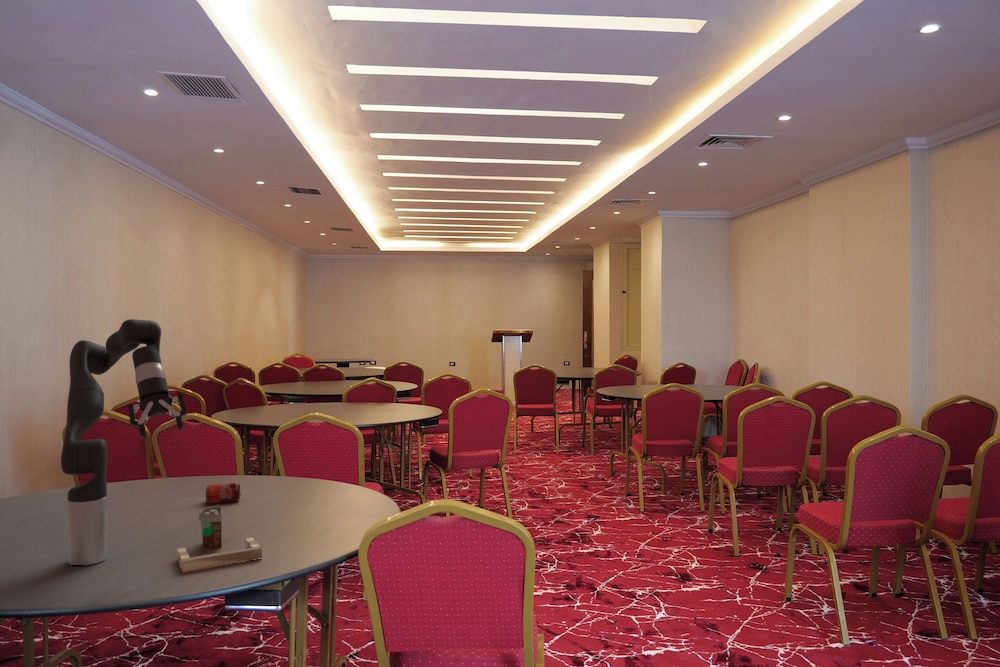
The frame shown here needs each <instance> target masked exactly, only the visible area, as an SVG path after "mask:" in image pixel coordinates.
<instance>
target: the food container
mask: <svg viewBox="0 0 1000 667" xmlns="http://www.w3.org/2000/svg"><path fill="white" fill-rule="evenodd" d="M221 506H222V505H218V504H217V505H211V506H208V507H204V508H202V509H201V510H200V512H199V514H198V521H200V522H201V523H200V524H201V537H202V546H203V547H204V546H205V547H204V548H207V547H222V537H223V536H222V533H223V532H222V523H223V522H222V521H223V520H222V519H223V518H222V513H221V512H222V509H221V508H222V507H221ZM222 548H223V547H222Z"/></svg>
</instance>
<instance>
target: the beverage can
mask: <svg viewBox="0 0 1000 667" xmlns="http://www.w3.org/2000/svg"><path fill="white" fill-rule="evenodd" d="M205 488H206V489H205V502H206V504H219V503H232V502H233V501H234V502H236V501H238V500H241V498H240V496H241V495H242V494H241V491H240V490H241V484H240V483H236V482H232V483H221V484H206V485H205Z"/></svg>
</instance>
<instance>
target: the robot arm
mask: <svg viewBox="0 0 1000 667" xmlns="http://www.w3.org/2000/svg"><path fill="white" fill-rule="evenodd" d="M161 337H162V327H161V326H160V324H159V323H158V322H156V321H155V320H147V319H135V318H134V319H133V318H130V319H126V320H124V321H123V322H122V323H121V325H120V327H119V329H118V330H116V331H115V332H113V333H112V334H111V335H109V337H108V338H107V339H106V341H105V346H103V345H102V344H98V343H95V342H93V341H89V340H87V339H83V340H82V339H80V340H79V341H77V342H76V343H75V344H74V345H73V347H72V349H71V351H70V355H69V390H68V397H67V406H66V427H65V432H64V437H63V438H64V439H63V443H62V449H61V455H60V466H61V467H60V468H61V470H62V472H63V473H64V474H65V475H71V476H73V475H74V476H75V475H86V474H87V475H88V474H93V476H92V477H91V478H90V479H89V480H87V481H85V482H83V483H81V484H78V485H76V486H74V487H73V486H72V488H70V489H69V490H68V492H67V564H68V565H69V564H70V565H69V566H72V565H84V566H90V564H91V565H95V564H98V563H102V562H104V561H106V560H107V558H108V501H107V500H108V496H107V494H108V493H107V492H108V491H107V474H108V473H107V472H108V470H107V469H108V455H109V454H108V453H109V451H108V450H109V449H108V444H107V441H106V440H105V439H102V438H95V439H93V438H92V439H81V438H82V437H83V436H84V434H86V433H87V432H88V431H89V430H90V429H91V428H92V427H93V426H94V425H95V424H97V422H98V421H99V419H100V418H101V417H102V415H103V413H104V409H105V394H104V391H103V389H102V386H101V385H100V384H99V383H98V381H97V380H96V379H95V377H94V375H96V376H99V375H103V374H105V373H106V372H108V371H110V369H111V368H112V367H113V366H114V365H115V364H117V362H118V361H120V359H121V358H123V357H124V356H125V355H126V354H129V353H131V352H132V353H131V354H132V362H133V367H134V372H135V373H134V374H135V383H136V387H137V392H138V398H139V404H132V403H130V404H128V405H127V406H128V417H129V423H130V427H131V428H135V427H136V428H139V434H140V437H141V438H142V439H143V440H147V439H148V436H147V431H146V428H145V426H146V425H145V424H146V423H147V421H149V419H150V417H152V418H155V417H158V416H163V415H166V414H168V415H169V416H171V417H173V418H175V423H176V427H177V431H178V433H180V432H182V429H184V427H183V426H184V425H183V420H182V418H183V417H185V416H188V412H187V411H188V410H187V407H186V404H185V399H184V397H183V394H182V393H178V394H177V395H176V396H173V397H172V396H171V394H170V391H169V385H168V382H167V376H166V373H165V370H164V367H163V363H162V360H161V354H160V349H161V339H162V338H161ZM140 345H146V346H141V347H139V346H140ZM173 402H174V403H175V404H177V405H178V404H179V408H180V411H178V410H176V409H175V408H174V407H173V406H172V404H173ZM139 409H140V410H141V411H142V414H141V416H140V418H139V419H138V420H136V413H138V410H139Z"/></svg>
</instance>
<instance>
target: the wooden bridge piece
mask: <svg viewBox="0 0 1000 667" xmlns="http://www.w3.org/2000/svg"><path fill="white" fill-rule="evenodd" d="M244 541H245V542H244V546H245V548H246V549H245V548H241V549H237V550H230V551H224V552H218V553H212V554H211V553H210V554H205V555H200V556H199V555H197V556H193V557H192V556H191V557H190V555H189V553H188V551H187V549H186V547H181V548H177V549H176V560H177V563H178V565H179V567H180V570H181V572H182V573H183V574H184V573H189V571H190V572H194V571H202V570H206V569H207V568H208V569H213V568H212V567H214V568H218V567H217V566H219V567H223V566H222V565H225V566H229V565H228V564H231V565H233V564H232V563H237V564H239V563H238V562H242V561H248V560H253V559H258V558H262V559H263V551H262V550H263V549H262V547H261V545H260V544H259V543H258V542H257V541H256V540H255V539H254V537H247V538H245V539H244ZM208 569H207V570H208Z"/></svg>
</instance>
